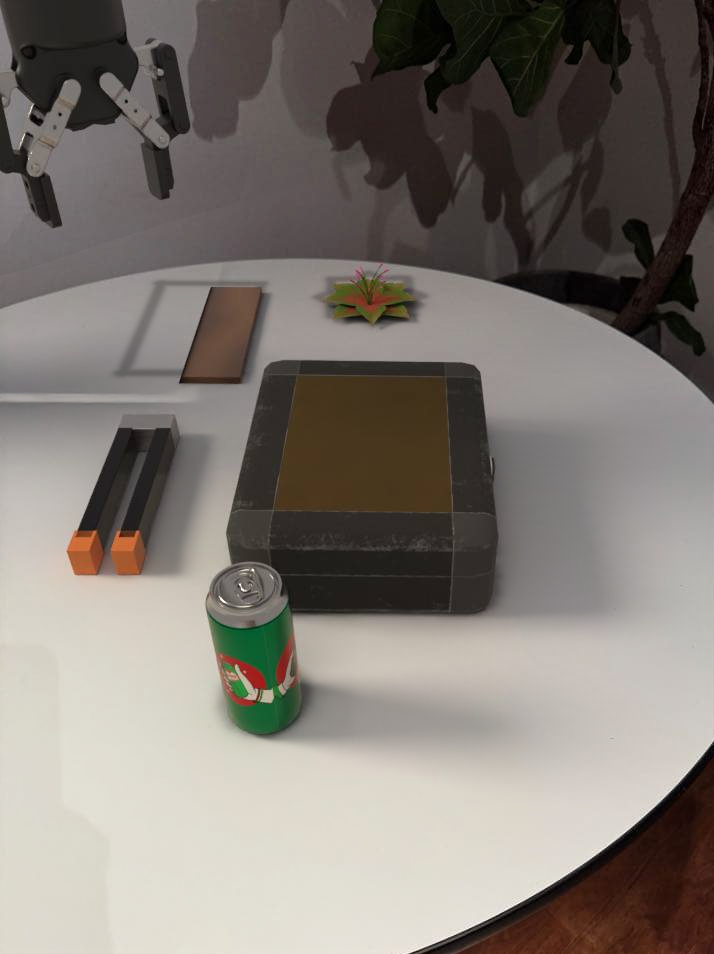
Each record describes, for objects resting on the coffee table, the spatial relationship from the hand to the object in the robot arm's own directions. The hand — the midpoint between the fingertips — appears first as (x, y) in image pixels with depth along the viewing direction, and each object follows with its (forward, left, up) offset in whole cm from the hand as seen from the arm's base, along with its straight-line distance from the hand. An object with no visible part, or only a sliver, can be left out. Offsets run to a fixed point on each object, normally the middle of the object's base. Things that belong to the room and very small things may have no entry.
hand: (107, 210), depth 65 cm
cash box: (+20, -7, -23) cm, 31 cm away
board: (0, +23, -23) cm, 32 cm away
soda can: (+13, -28, -23) cm, 39 cm away
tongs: (-1, -6, -23) cm, 24 cm away
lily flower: (+19, +30, -23) cm, 42 cm away
